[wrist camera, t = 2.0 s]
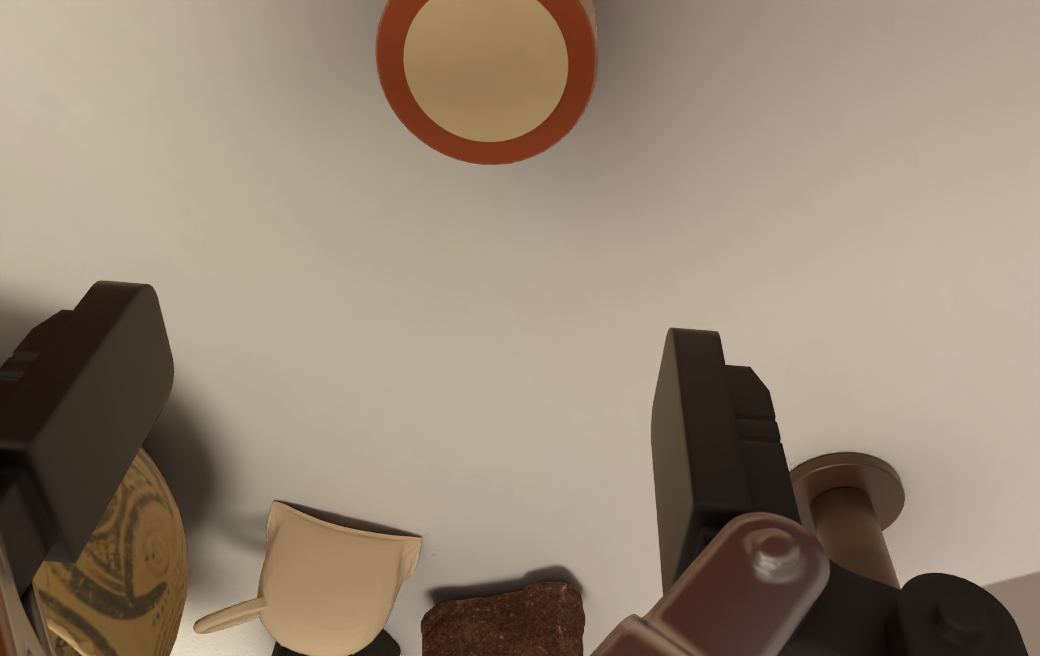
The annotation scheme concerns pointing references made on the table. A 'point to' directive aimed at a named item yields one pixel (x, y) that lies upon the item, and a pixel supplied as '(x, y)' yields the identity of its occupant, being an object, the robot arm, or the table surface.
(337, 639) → the decorative ornament
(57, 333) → the robot arm
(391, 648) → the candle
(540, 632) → the stone
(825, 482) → the walnut post
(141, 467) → the ceramic bowl
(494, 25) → the terracotta bowl
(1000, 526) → the table surface
